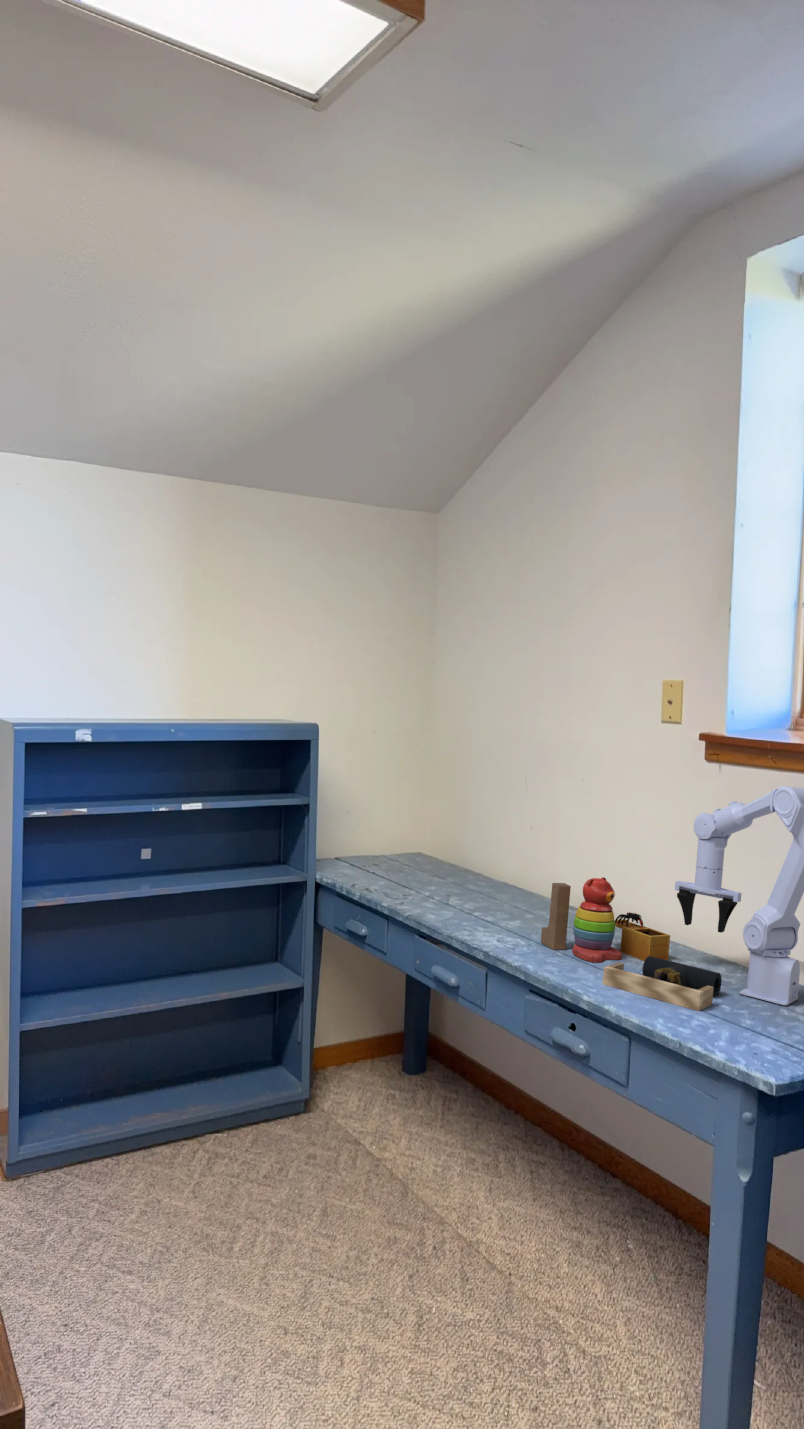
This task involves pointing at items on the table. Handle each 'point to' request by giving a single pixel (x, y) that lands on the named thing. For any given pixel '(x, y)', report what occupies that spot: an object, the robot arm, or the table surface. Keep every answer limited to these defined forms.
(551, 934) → the wooden block
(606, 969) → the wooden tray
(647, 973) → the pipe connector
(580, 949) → the stacking bear
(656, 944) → the spider toy trap
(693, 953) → the table surface
